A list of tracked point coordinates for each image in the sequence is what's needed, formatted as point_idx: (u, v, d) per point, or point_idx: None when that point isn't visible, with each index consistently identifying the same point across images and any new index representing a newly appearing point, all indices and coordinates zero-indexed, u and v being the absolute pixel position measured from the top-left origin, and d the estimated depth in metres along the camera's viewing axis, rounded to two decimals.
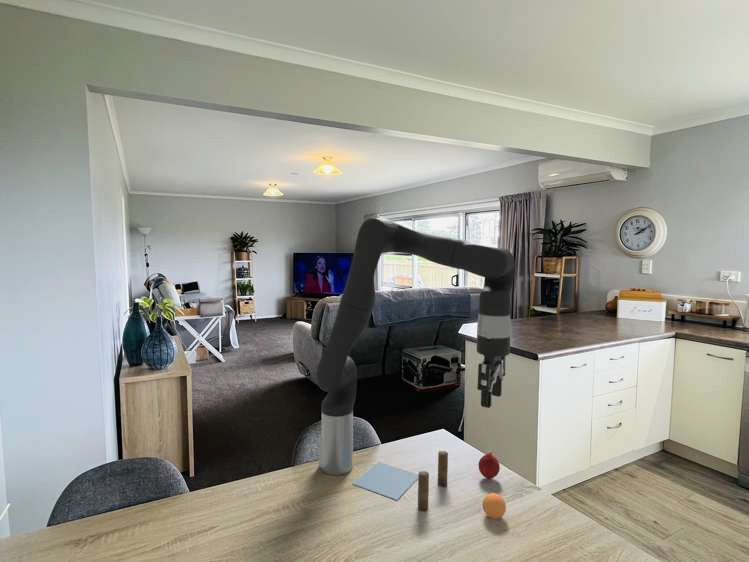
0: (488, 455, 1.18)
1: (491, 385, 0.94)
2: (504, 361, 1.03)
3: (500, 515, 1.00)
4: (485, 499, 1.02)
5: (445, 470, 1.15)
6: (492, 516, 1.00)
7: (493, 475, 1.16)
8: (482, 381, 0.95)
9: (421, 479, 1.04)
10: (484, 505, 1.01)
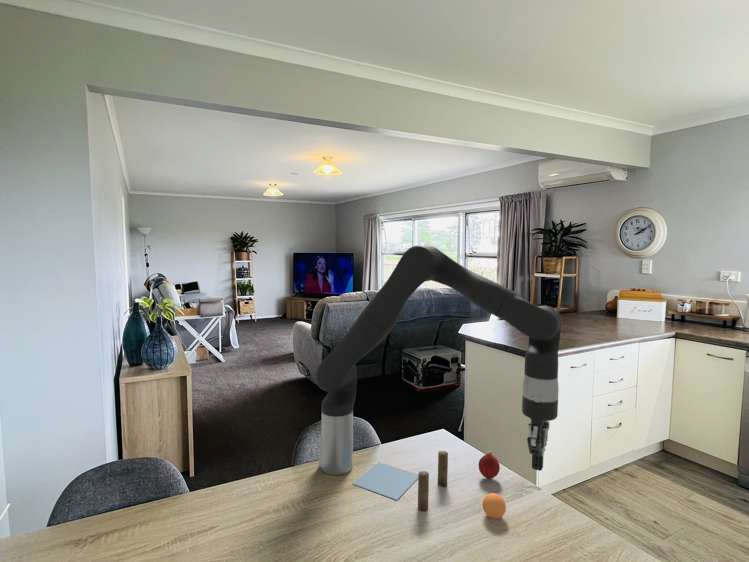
0: (488, 455, 1.18)
1: (542, 450, 0.94)
2: None
3: (500, 515, 1.00)
4: (485, 499, 1.02)
5: (445, 470, 1.15)
6: (492, 516, 1.00)
7: (493, 475, 1.16)
8: None
9: (421, 479, 1.04)
10: (484, 505, 1.01)
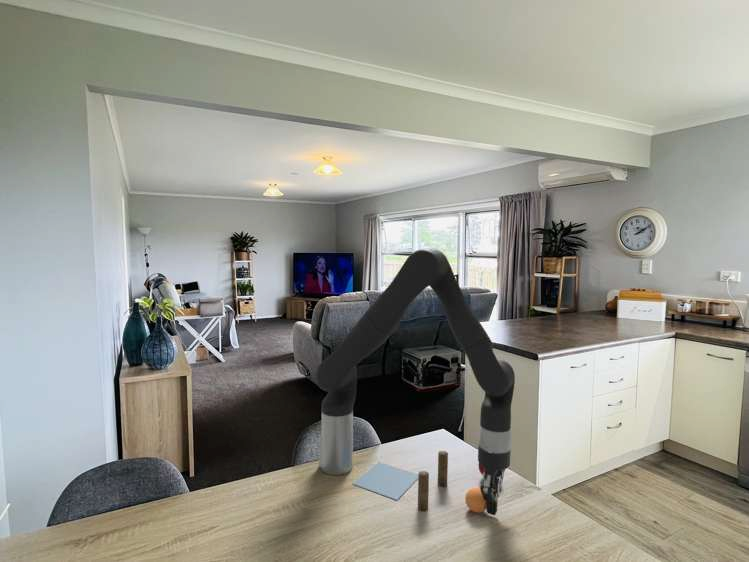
0: None
1: (495, 497, 1.00)
2: (502, 475, 1.05)
3: (480, 498, 1.02)
4: None
5: (445, 470, 1.15)
6: (478, 506, 1.02)
7: None
8: None
9: (421, 479, 1.04)
10: (470, 508, 1.04)
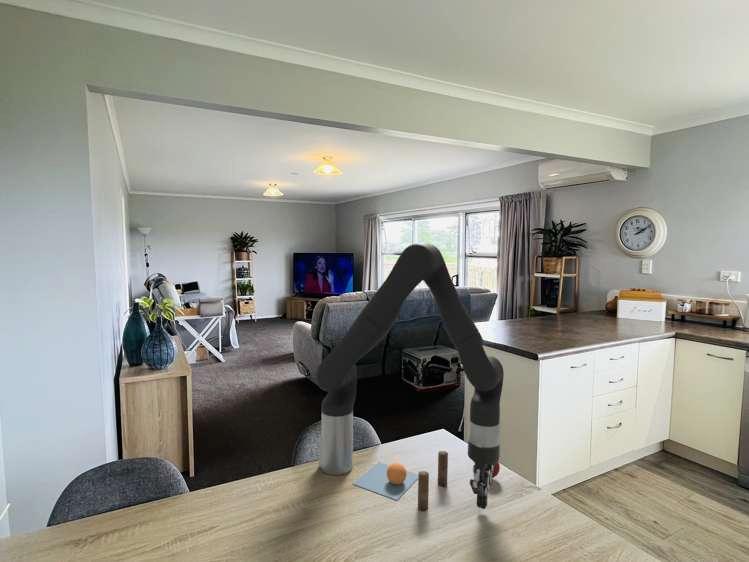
0: None
1: (485, 491, 1.02)
2: (492, 469, 1.06)
3: (387, 472, 1.16)
4: (400, 482, 1.14)
5: (445, 470, 1.15)
6: (390, 472, 1.15)
7: (493, 475, 1.16)
8: None
9: (421, 479, 1.04)
10: (398, 480, 1.14)
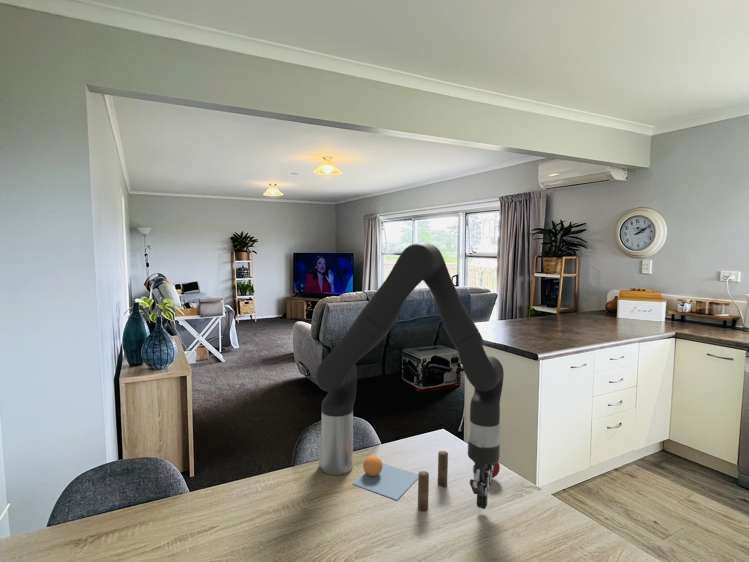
0: None
1: (485, 491, 1.02)
2: (492, 469, 1.06)
3: (375, 474, 1.18)
4: (366, 459, 1.20)
5: (445, 470, 1.15)
6: (368, 474, 1.19)
7: (493, 475, 1.16)
8: None
9: (421, 479, 1.04)
10: (364, 464, 1.20)
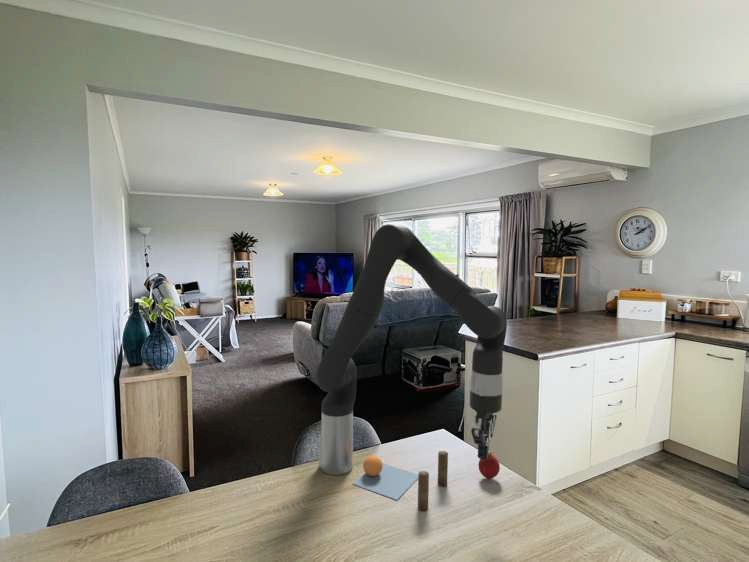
0: (488, 455, 1.18)
1: (487, 441, 1.01)
2: (494, 422, 1.06)
3: (375, 474, 1.18)
4: (366, 459, 1.20)
5: (445, 470, 1.15)
6: (368, 474, 1.19)
7: (493, 475, 1.16)
8: None
9: (421, 479, 1.04)
10: (364, 464, 1.20)
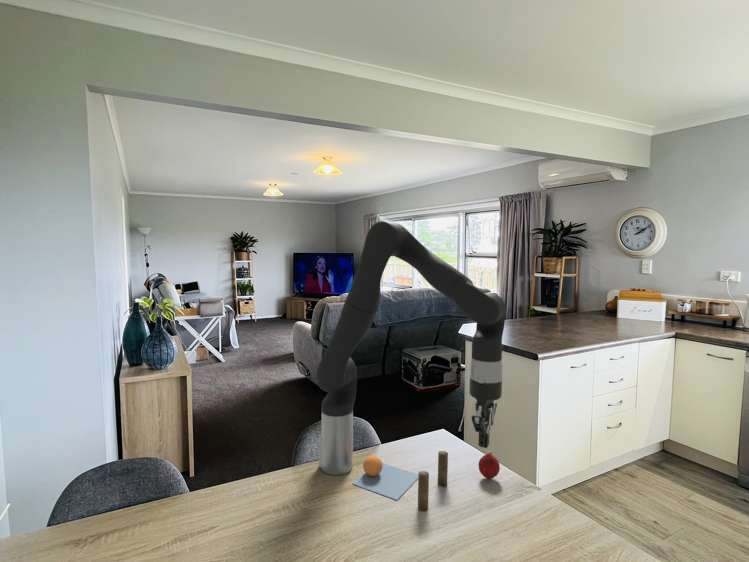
0: (488, 455, 1.18)
1: (487, 428, 1.01)
2: (494, 410, 1.05)
3: (375, 474, 1.18)
4: (366, 459, 1.20)
5: (445, 470, 1.15)
6: (368, 474, 1.19)
7: (493, 475, 1.16)
8: None
9: (421, 479, 1.04)
10: (364, 464, 1.20)
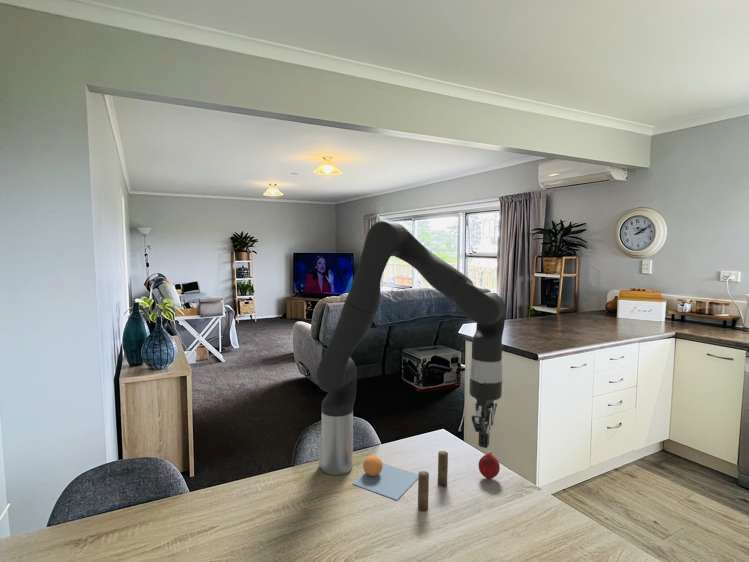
0: (488, 455, 1.18)
1: (487, 428, 1.01)
2: (494, 410, 1.05)
3: (375, 474, 1.18)
4: (366, 459, 1.20)
5: (445, 470, 1.15)
6: (368, 474, 1.19)
7: (493, 475, 1.16)
8: None
9: (421, 479, 1.04)
10: (364, 464, 1.20)
